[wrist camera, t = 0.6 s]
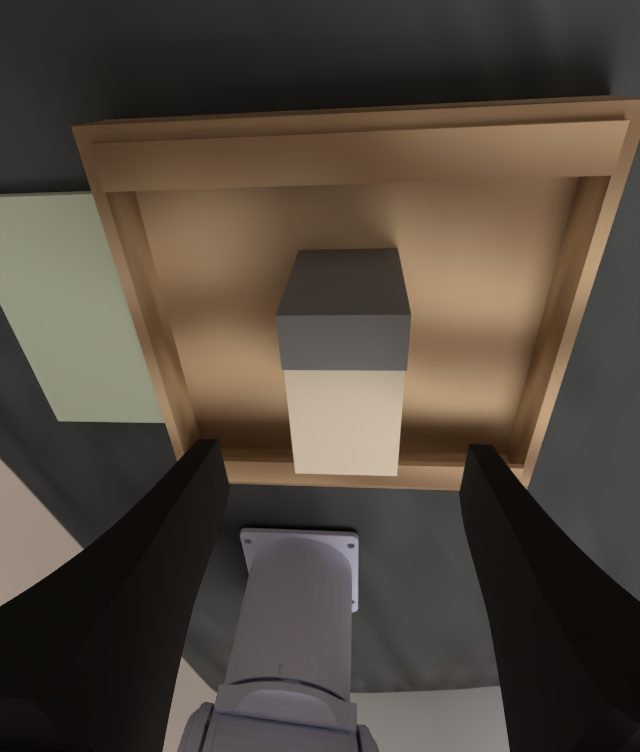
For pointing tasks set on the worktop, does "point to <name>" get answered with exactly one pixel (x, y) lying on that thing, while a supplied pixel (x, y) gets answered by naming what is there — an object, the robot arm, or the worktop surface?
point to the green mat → (72, 309)
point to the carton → (364, 231)
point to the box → (345, 359)
